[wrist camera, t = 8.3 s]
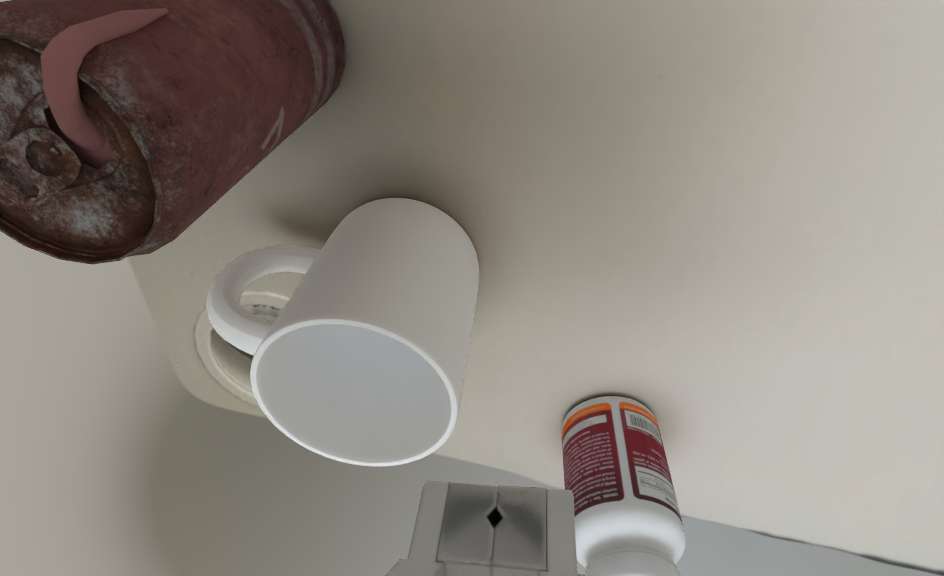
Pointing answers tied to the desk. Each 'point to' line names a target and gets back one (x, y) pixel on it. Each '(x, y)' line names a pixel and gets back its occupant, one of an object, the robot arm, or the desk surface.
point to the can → (147, 112)
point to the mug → (361, 333)
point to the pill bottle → (621, 490)
